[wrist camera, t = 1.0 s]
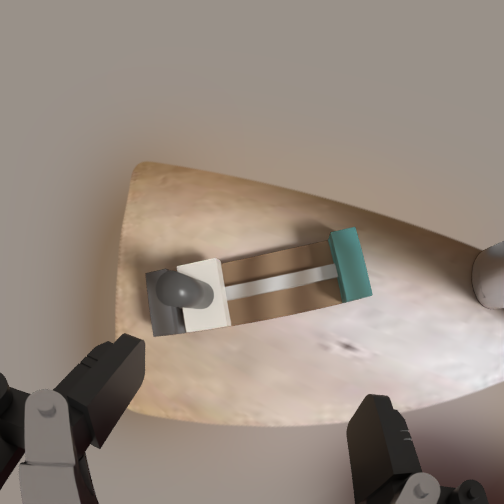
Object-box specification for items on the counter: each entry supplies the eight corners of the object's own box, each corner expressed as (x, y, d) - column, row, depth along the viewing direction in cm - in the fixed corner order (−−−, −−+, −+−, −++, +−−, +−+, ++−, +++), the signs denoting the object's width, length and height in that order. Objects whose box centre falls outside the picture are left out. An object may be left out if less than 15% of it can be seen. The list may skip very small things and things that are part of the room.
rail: (348, 238, 36) (355, 226, 31) (363, 298, 34) (372, 295, 29) (163, 278, 39) (145, 273, 34) (170, 334, 37) (153, 336, 32)
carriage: (220, 260, 35) (190, 239, 25) (231, 325, 33) (203, 328, 23) (183, 269, 36) (143, 251, 26) (192, 331, 34) (153, 335, 24)
